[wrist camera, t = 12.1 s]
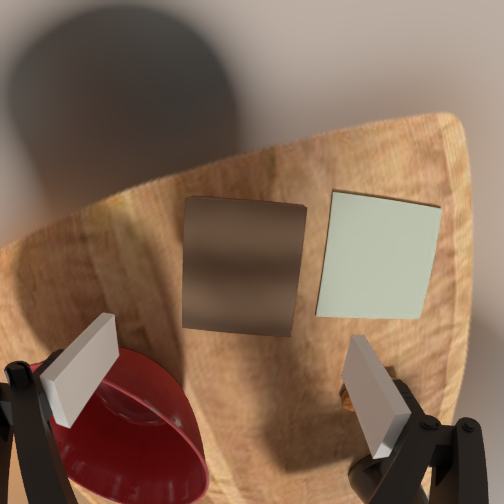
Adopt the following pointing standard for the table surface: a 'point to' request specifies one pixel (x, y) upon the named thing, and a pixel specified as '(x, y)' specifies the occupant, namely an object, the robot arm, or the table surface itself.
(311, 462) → the table surface
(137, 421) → the mixing bowl
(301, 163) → the table surface
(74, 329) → the table surface
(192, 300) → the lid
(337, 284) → the mat
